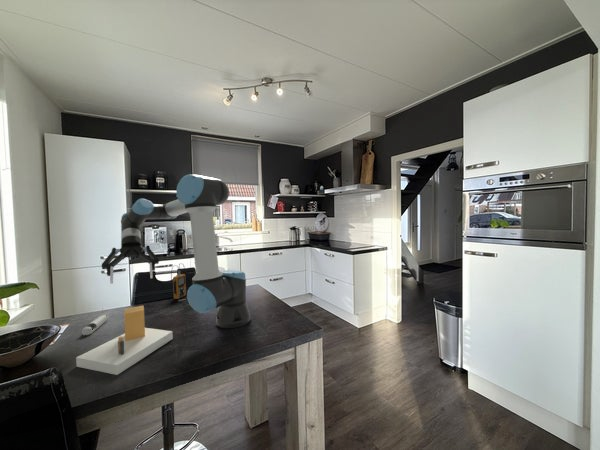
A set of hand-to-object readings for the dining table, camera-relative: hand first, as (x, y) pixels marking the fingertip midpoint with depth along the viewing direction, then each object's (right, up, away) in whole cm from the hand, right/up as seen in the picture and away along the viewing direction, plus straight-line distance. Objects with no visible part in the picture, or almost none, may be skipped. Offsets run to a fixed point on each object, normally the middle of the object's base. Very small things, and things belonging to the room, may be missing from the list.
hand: (132, 279), depth 100 cm
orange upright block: (+7, -20, -8) cm, 22 cm away
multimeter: (+1, -21, +43) cm, 48 cm away
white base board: (+9, -23, -14) cm, 28 cm away
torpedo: (-20, -23, +6) cm, 31 cm away
